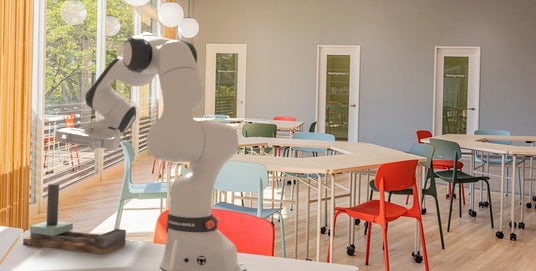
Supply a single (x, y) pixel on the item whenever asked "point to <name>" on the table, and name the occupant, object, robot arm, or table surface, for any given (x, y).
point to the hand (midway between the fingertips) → (76, 143)
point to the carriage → (52, 216)
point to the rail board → (81, 241)
